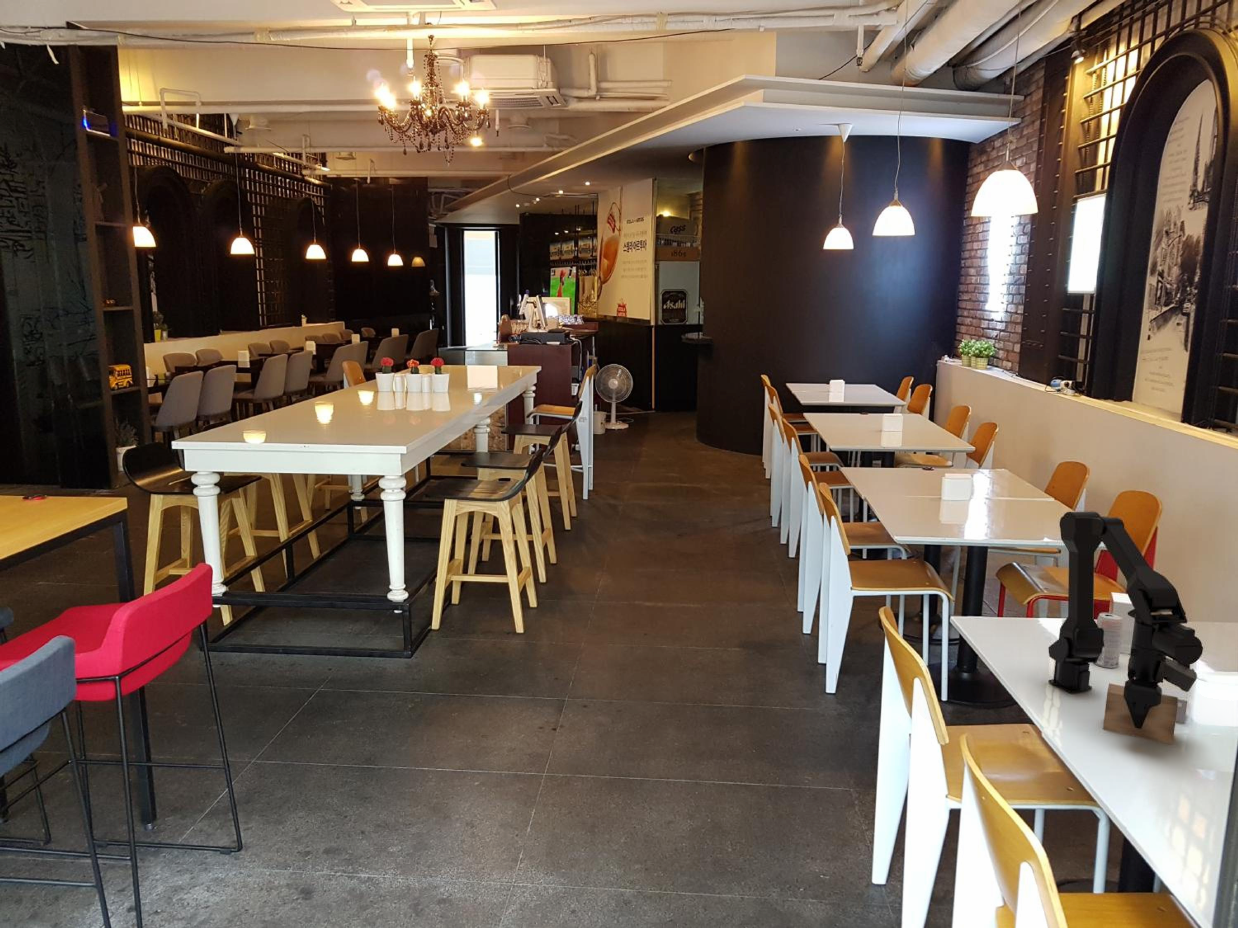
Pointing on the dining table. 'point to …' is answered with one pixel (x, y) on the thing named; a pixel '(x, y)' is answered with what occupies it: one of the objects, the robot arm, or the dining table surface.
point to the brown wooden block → (1155, 725)
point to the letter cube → (1181, 702)
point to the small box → (1121, 607)
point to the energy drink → (1110, 639)
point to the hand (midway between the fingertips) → (1139, 719)
